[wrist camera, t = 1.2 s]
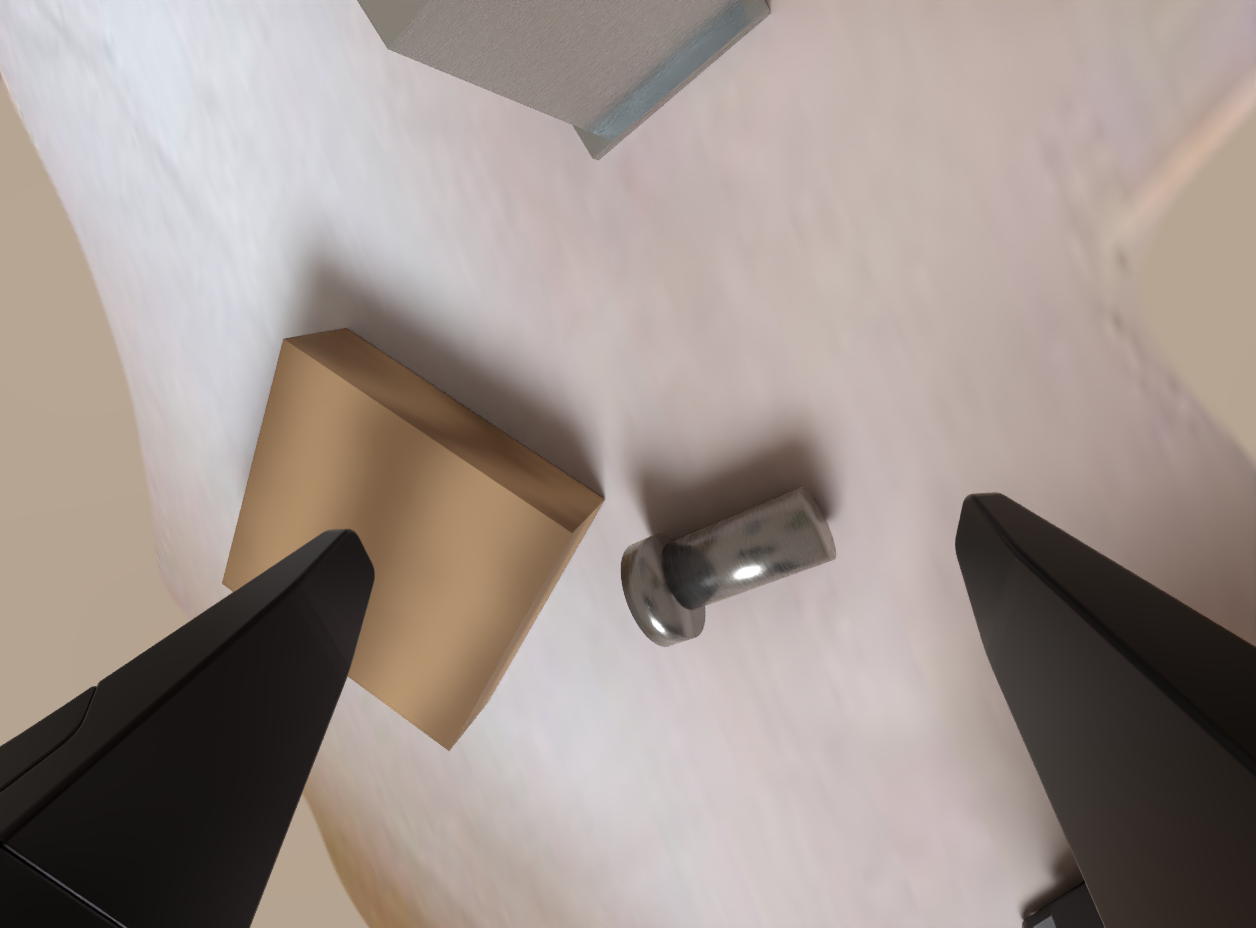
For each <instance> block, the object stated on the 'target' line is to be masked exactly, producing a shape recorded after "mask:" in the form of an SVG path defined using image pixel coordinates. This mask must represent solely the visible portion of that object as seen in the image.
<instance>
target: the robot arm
mask: <svg viewBox="0 0 1256 928" xmlns="http://www.w3.org/2000/svg"><path fill="white" fill-rule="evenodd" d="M955 549H956V555H957V559H958V562H959V565H960V569H961V572H962V575H963V579H964V582H965V586H966V589H967V592H968V596H969V599H970V602H971V606H972V609H973V613H974V616H975V619H976V623H977V626H978V629H979V633H980V636H981V639H982V642H983V645H984V649H985V652H986V654H987V657H988V659H989V662H990V664H991V667H992V669H993V672H994V674H995V676H996V679H997V681H998V683H999V685H1000V688H1001V690H1002V692H1003V695H1004V697H1005V699H1006V702H1007V704H1008V706H1009V708H1010V711H1011V713H1012V715H1013V718H1014V720H1015V722H1016V724H1017V727H1018V729H1019V731H1020V734H1021V736H1022V738H1023V741H1024V743H1025V745H1026V747H1027V750H1028V752H1029V754H1030V757H1031V759H1032V761H1033V764H1034V766H1035V768H1036V770H1037V773H1038V775H1039V777H1040V780H1041V782H1042V784H1043V786H1044V789H1045V791H1046V793H1047V796H1048V798H1049V800H1050V803H1051V805H1052V807H1053V809H1054V812H1055V814H1056V816H1057V819H1058V821H1059V823H1060V826H1061V828H1062V830H1063V832H1064V835H1065V837H1066V839H1067V842H1068V844H1069V846H1070V849H1071V851H1072V853H1073V855H1074V858H1075V860H1076V862H1077V865H1078V867H1079V869H1080V871H1081V874H1082V876H1083V878H1084V882H1082V883H1081V884H1079V885H1078V886H1076V887H1075V888H1073V889H1072V890H1070V891H1069V892H1067V893H1066V894H1064V895H1062V896H1061V897H1059V898H1058V899H1056V900H1055V901H1053V902H1052V903H1050V904H1049V905H1047V906H1046V907H1044V908H1042V909H1041V910H1039V911H1038V912H1036V913H1035V914H1033V915H1032V916H1030V917H1029V918H1027V919H1026V920H1025V921H1024V922H1023V923H1022V928H1256V647H1255V646H1253V645H1251V644H1250V643H1248V642H1246V641H1245V640H1243V639H1241V638H1240V637H1238V636H1236V635H1235V634H1233V633H1231V632H1230V631H1228V630H1227V629H1225V628H1223V627H1222V626H1220V625H1218V624H1217V623H1215V622H1213V621H1212V620H1210V619H1208V618H1207V617H1205V616H1203V615H1202V614H1200V613H1198V612H1197V611H1195V610H1193V609H1192V608H1190V607H1189V606H1187V605H1185V604H1184V603H1182V602H1180V601H1179V600H1177V599H1175V598H1174V597H1172V596H1170V595H1169V594H1167V593H1165V592H1164V591H1162V590H1160V589H1159V588H1157V587H1155V586H1154V585H1152V584H1150V583H1149V582H1147V581H1146V580H1144V579H1142V578H1141V577H1139V576H1137V575H1136V574H1134V573H1132V572H1131V571H1129V570H1127V569H1126V568H1124V567H1122V566H1121V565H1119V564H1117V563H1116V562H1114V561H1112V560H1111V559H1109V558H1107V557H1106V556H1104V555H1103V554H1101V553H1099V552H1098V551H1096V550H1094V549H1093V548H1091V547H1089V546H1088V545H1086V544H1084V543H1083V542H1081V541H1079V540H1078V539H1076V538H1074V537H1073V536H1071V535H1069V534H1068V533H1066V532H1065V531H1063V530H1061V529H1060V528H1058V527H1056V526H1055V525H1053V524H1051V523H1050V522H1048V521H1046V520H1045V519H1043V518H1041V517H1040V516H1038V515H1036V514H1035V513H1033V512H1031V511H1030V510H1028V509H1026V508H1025V507H1023V506H1022V505H1020V504H1018V503H1017V502H1015V501H1013V500H1012V499H1010V498H1008V497H1007V496H1005V495H1003V494H1001V493H977V494H970V495H968V496H967V497H966V498H965V500H964V502H963V506H962V510H961V515H960V520H959V524H958V529H957V534H956V539H955ZM374 580H375V570H374V566H373V564H372V562H371V560H370V558H369V556H368V554H367V552H366V550H365V548H364V546H363V544H362V542H361V540H360V538H359V536H358V534H357V533H356V532H355V531H354V530H351V529H333V530H327V531H324V532H323V533H321V534H319V535H318V536H317V537H315V538H314V539H312V540H311V541H309V542H308V543H306V544H305V545H303V546H302V547H300V548H299V549H297V550H296V551H294V552H293V553H291V554H290V555H288V556H287V557H285V558H284V559H282V560H281V561H279V562H278V563H276V564H275V565H273V566H272V567H270V568H269V569H267V570H266V571H264V572H263V573H261V574H260V575H258V576H257V577H255V578H254V579H252V580H251V581H249V582H248V583H246V584H245V585H243V586H242V587H240V588H239V589H237V590H236V591H234V592H233V593H231V594H230V595H228V596H227V597H225V598H224V599H222V600H221V601H219V602H218V603H216V604H215V605H213V606H212V607H210V608H209V609H207V610H206V611H204V612H203V613H201V614H200V615H198V616H197V617H195V618H194V619H192V620H191V621H190V622H188V623H187V624H185V625H184V626H182V627H181V628H179V629H178V630H176V631H175V632H173V633H172V634H170V635H169V636H167V637H166V638H164V639H163V640H161V641H160V642H158V643H157V644H155V645H154V646H152V647H151V648H149V649H148V650H146V651H145V652H143V653H142V654H140V655H139V656H137V657H136V658H134V659H133V660H131V661H130V662H128V663H127V664H125V665H124V666H122V667H121V668H119V669H118V670H116V671H115V672H113V673H112V674H110V675H109V676H107V677H106V678H105V679H103V680H101V681H100V682H99V683H98V685H97V686H93V687H91V688H89V689H88V690H86V691H85V692H83V693H82V694H80V695H79V696H77V697H76V698H74V699H73V700H71V701H70V702H68V703H67V704H65V705H64V706H63V707H61V708H59V709H58V710H56V711H55V712H53V713H52V714H50V715H48V716H47V717H45V718H44V719H42V720H41V721H39V722H38V723H36V724H35V725H33V726H32V727H30V728H29V729H27V730H25V731H24V732H22V733H21V734H19V735H18V736H16V737H14V738H13V739H11V740H10V741H8V742H6V743H5V744H3V745H2V746H0V928H250V926H251V924H252V921H253V918H254V916H255V913H256V911H257V908H258V905H259V903H260V900H261V898H262V895H263V892H264V890H265V888H266V885H267V882H268V880H269V877H270V874H271V872H272V869H273V867H274V864H275V862H276V859H277V857H278V854H279V851H280V849H281V846H282V844H283V841H284V839H285V836H286V833H287V831H288V828H289V826H290V823H291V821H292V818H293V815H294V813H295V810H296V808H297V805H298V803H299V800H300V797H301V795H302V792H303V790H304V787H305V785H306V782H307V779H308V777H309V774H310V772H311V769H312V767H313V764H314V761H315V759H316V756H317V754H318V751H319V749H320V746H321V743H322V741H323V738H324V736H325V733H326V731H327V728H328V725H329V723H330V720H331V718H332V715H333V713H334V710H335V707H336V705H337V702H338V700H339V697H340V695H341V692H342V689H343V687H344V684H345V682H346V679H347V676H348V673H349V670H350V668H351V664H352V661H353V658H354V655H355V651H356V647H357V644H358V640H359V636H360V633H361V629H362V625H363V622H364V618H365V614H366V610H367V607H368V603H369V599H370V596H371V592H372V588H373V585H374Z"/></svg>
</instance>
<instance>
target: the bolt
mask: <svg viewBox="0 0 1256 928" xmlns="http://www.w3.org/2000/svg"><path fill="white" fill-rule="evenodd" d="M835 558H836V549H835V544H834V540H833V537H832V534H831V531H830V528H829V526H828V523H827V521H826V519H825V517H824V514H823V512H822V510H821V509H820V507H819V505H818V503H817V502H816V500H815V498H814V497H813V496H812V494H811V493H810V492H809V491H808V490H807V489H806V488H805V487H800V488H798V489H796V490H793V491H791V492H789V493H786V494H784V495H781V496H779V497H777V498H774V499H772V500H769V501H767V502H765V503H762V504H760V505H758V506H755V507H753V508H750V509H748V510H746V511H743V512H741V513H739V514H736V515H734V516H731V517H729V518H727V519H724V520H722V521H719V522H717V523H715V524H712V525H710V526H708V527H705V528H703V529H700V530H698V531H696V532H693V533H691V534H689V535H686V536H684V537H681V538H679V539H677V540H673V539H672V538H670V537H669V536H667V535H665V534H655V535H653V536H651V537H648V538H646V539H644V540H641V541H639V542H637V543H634V544H632V545H630V546H629V547H628V548H627V549H626V550H625V552H624V554H623V557H622V561H621V580H622V587H623V591H624V595H625V598H626V601H627V604H628V607H629V609H630V611H631V613H632V616H633V617H634V619H635V621H636V623H637V624H638V626H639V627H640V629H641V630H642V631H643V633H644V634H645V635H646V636H647V637H648V638H649V639H650V640H651V641H652V642H654V643H656V644H657V645H660V646H663V647H668V646H671V645H674V644H677V643H680V642H683V641H686V640H689V639H692V638H695V637H697V636H699V635H700V633H701V632H702V630H703V627H704V623H705V606H706V605H709V604H712V603H714V602H717V601H720V600H723V599H726V598H728V597H731V596H734V595H737V594H739V593H742V592H745V591H748V590H751V589H753V588H756V587H759V586H762V585H765V584H767V583H770V582H773V581H776V580H779V579H781V578H784V577H787V576H790V575H792V574H795V573H798V572H801V571H804V570H806V569H809V568H812V567H815V566H818V565H820V564H823V563H826V562H829V561H831V560H834V559H835Z"/></svg>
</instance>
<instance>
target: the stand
mask: <svg viewBox="0 0 1256 928" xmlns="http://www.w3.org/2000/svg"><path fill="white" fill-rule="evenodd" d="M604 500H605V499H604V498H602V497H601V496H599V495H598V494H596V493H594V492H593V491H591V490H590V489H588V488H587V487H585V486H584V485H582V484H581V483H579V482H578V481H576V480H575V479H573V478H572V477H570V476H569V475H567V474H566V473H564V472H563V471H561V470H560V469H558V468H557V467H555V466H554V465H552V464H551V463H549V462H548V461H546V460H545V459H543V458H542V457H540V456H539V455H537V454H536V453H534V452H533V451H531V450H530V449H528V448H527V447H525V446H524V445H522V444H520V443H519V442H517V441H516V440H514V439H513V438H511V437H510V436H508V435H507V434H505V433H504V432H502V431H501V430H499V429H498V428H496V427H495V426H493V425H492V424H490V423H489V422H487V421H486V420H484V419H483V418H481V417H480V416H478V415H477V414H475V413H474V412H472V411H471V410H469V409H468V408H466V407H465V406H463V405H462V404H460V403H459V402H457V401H456V400H454V399H453V398H451V397H450V396H448V395H446V394H445V393H443V392H442V391H440V390H439V389H437V388H436V387H434V386H433V385H431V384H430V383H428V382H427V381H425V380H424V379H422V378H421V377H419V376H418V375H416V374H415V373H413V372H412V371H410V370H409V369H407V368H406V367H404V366H403V365H401V364H400V363H398V362H397V361H395V360H394V359H392V358H391V357H389V356H388V355H386V354H385V353H383V352H382V351H380V350H379V349H377V348H376V347H374V346H372V345H371V344H369V343H368V342H366V341H365V340H363V339H362V338H360V337H359V336H357V335H356V334H354V333H353V332H351V331H350V330H348V329H347V328H344V329H338V330H332V331H326V332H320V333H314V334H308V335H303V336H297V337H291V338H285V339H283V343H282V347H281V351H280V355H279V359H278V363H277V367H276V371H275V375H274V379H273V383H272V386H271V390H270V394H269V398H268V402H267V406H266V410H265V414H264V418H263V422H262V426H261V430H260V434H259V438H258V442H257V446H256V450H255V454H254V458H253V462H252V466H251V470H250V474H249V478H248V482H247V486H246V490H245V494H244V498H243V502H242V506H241V510H240V514H239V518H238V522H237V526H236V530H235V534H234V538H233V542H232V546H231V550H230V554H229V558H228V562H227V566H226V570H225V574H224V577H223V581H222V584H223V585H225V586H226V587H227V588H229V589H230V590H231V591H233V592H234V591H236V590H237V589H239V588H240V587H242V586H243V585H245V584H246V583H248V582H249V581H251V580H252V579H254V578H255V577H257V576H258V575H260V574H261V573H263V572H264V571H266V570H267V569H269V568H270V567H272V566H273V565H275V564H276V563H278V562H279V561H281V560H282V559H284V558H285V557H287V556H288V555H290V554H291V553H293V552H294V551H296V550H297V549H299V548H300V547H302V546H303V545H305V544H306V543H308V542H309V541H311V540H312V539H314V538H315V537H317V536H318V535H319V534H321V533H323V532H324V531H327V530H333V529H351V530H354V531H355V532H356V533H357V534H358V536H359V538H360V540H361V542H362V544H363V546H364V548H365V550H366V552H367V554H368V556H369V558H370V560H371V562H372V564H373V566H374V570H375V580H374V585H373V588H372V592H371V596H370V599H369V603H368V607H367V610H366V614H365V618H364V622H363V625H362V629H361V633H360V636H359V640H358V644H357V647H356V651H355V655H354V658H353V661H352V664H351V668H350V670H349V673H348V677H349V678H351V679H352V680H353V681H355V682H356V683H358V684H359V685H360V686H362V687H363V688H364V689H366V690H367V691H368V692H370V693H371V694H372V695H374V696H375V697H377V698H378V699H379V700H381V701H382V702H383V703H385V704H386V705H387V706H389V707H390V708H391V709H393V710H394V711H396V712H397V713H398V714H400V715H401V716H402V717H404V718H405V719H406V720H408V721H409V722H410V723H412V724H413V725H414V726H416V727H417V728H419V729H420V730H421V731H423V732H424V733H425V734H427V735H428V736H429V737H431V738H432V739H433V740H435V741H436V742H438V743H439V744H440V745H442V746H443V747H444V748H446V749H447V750H448V751H450V749H451V748H452V747H453V746H454V744H455V743H456V742H457V741H458V739H459V738H460V737H461V736H462V734H463V733H464V732H465V731H466V729H467V728H468V727H469V725H470V724H471V723H472V722H473V720H474V719H475V718H476V717H477V715H478V714H479V713H480V712H481V710H482V709H483V708H484V707H485V705H486V704H487V703H488V701H489V700H490V698H491V696H492V694H493V693H494V691H495V689H496V687H497V686H498V684H499V682H500V680H501V679H502V677H503V675H504V674H505V672H506V670H507V668H508V667H509V665H510V663H511V661H512V660H513V658H514V656H515V654H516V653H517V651H518V649H519V648H520V646H521V644H522V642H523V641H524V639H525V637H526V635H527V634H528V632H529V630H530V628H531V627H532V625H533V623H534V622H535V620H536V618H537V616H538V615H539V613H540V611H541V609H542V608H543V606H544V604H545V602H546V601H547V599H548V597H549V596H550V594H551V592H552V590H553V589H554V587H555V585H556V583H557V582H558V580H559V578H560V576H561V575H562V573H563V571H564V570H565V568H566V566H567V564H568V563H569V561H570V559H571V557H572V556H573V554H574V552H575V550H576V549H577V547H578V545H579V544H580V542H581V540H582V538H583V537H584V535H585V533H586V531H587V530H588V528H589V526H590V524H591V523H592V521H593V519H594V518H595V516H596V514H597V512H598V511H599V509H600V507H601V505H602V504H603V502H604Z"/></svg>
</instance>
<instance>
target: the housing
mask: <svg viewBox="0 0 1256 928" xmlns="http://www.w3.org/2000/svg"><path fill="white" fill-rule="evenodd" d="M357 1H358V3H359V4H360V6H361V7H362V9H363V10H364V12H365V14H366V15H367V17H368V18H369V20H370V22H371V23H372V25H373V26H374V28H375V29H376V31H377V33H378V34H379V36H380V37H381V39H382V41H383V42H384V44H385V45H386V47H387V48H388V49H389V50H391V51H394V52H396V53H399V54H401V55H404V56H406V57H409V58H411V59H413V60H416V61H418V62H421V63H423V64H426V65H428V66H431V67H433V68H435V69H438V70H440V71H443V72H445V73H448V74H450V75H452V76H455V77H457V78H460V79H462V80H465V81H467V82H470V83H472V84H474V85H477V86H479V87H482V88H484V89H487V90H489V91H491V92H494V93H496V94H499V95H501V96H504V97H506V98H509V99H511V100H513V101H516V102H518V103H521V104H523V105H526V106H528V107H530V108H533V109H535V110H538V111H540V112H543V113H545V114H548V115H550V116H552V117H555V118H557V119H560V120H562V121H565V122H567V123H570V124H572V125H573V127H574V128H575V130H576V132H577V133H578V135H579V137H580V138H581V140H582V142H583V143H584V145H585V146H586V148H587V150H588V151H589V153H590V155H591V156H592V158H593V159H596V160H600V159H601V158H602V157H603V156H604V155H605V154H607V153H608V152H609V151H610V150H611V149H612V148H614V147H615V146H616V145H617V144H618V143H619V142H621V141H622V140H623V139H624V138H625V137H626V136H628V135H629V134H630V133H631V132H632V131H634V130H635V129H636V128H637V127H638V126H639V125H641V124H642V123H643V122H644V121H645V120H646V119H648V118H649V117H650V116H651V115H652V114H653V113H655V112H656V111H657V110H658V109H659V108H660V107H662V106H663V105H664V104H665V103H666V102H668V101H669V100H670V99H671V98H672V97H673V96H675V95H676V94H677V93H678V92H679V91H680V90H682V89H683V88H684V87H685V86H686V85H687V84H689V83H690V82H691V81H692V80H693V79H694V78H696V77H697V76H698V75H699V74H700V73H702V72H703V71H704V70H705V69H706V68H707V67H709V66H710V65H711V64H712V63H713V62H714V61H716V60H717V59H718V58H719V57H720V56H721V55H723V54H724V53H725V52H726V51H727V50H728V49H730V48H731V47H732V46H733V45H734V44H736V43H737V42H738V41H739V40H740V39H741V38H743V37H744V36H745V35H746V34H747V33H748V32H750V31H751V30H752V29H753V28H754V27H755V26H757V25H758V24H759V23H760V22H761V21H762V20H764V19H765V18H766V17H767V16H768V15H770V14H771V13H770V10H769V7H768V5H767V4H766V2H765V0H357Z"/></svg>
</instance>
